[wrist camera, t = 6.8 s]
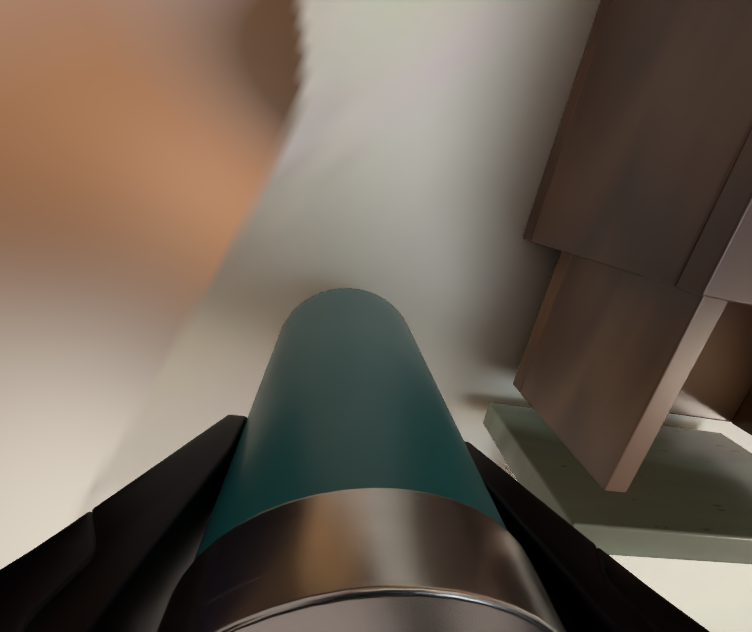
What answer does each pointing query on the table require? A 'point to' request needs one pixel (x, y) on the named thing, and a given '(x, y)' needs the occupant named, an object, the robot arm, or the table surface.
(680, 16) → the cabinet
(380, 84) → the table surface
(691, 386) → the drawer
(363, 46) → the table surface
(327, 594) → the tea tin
